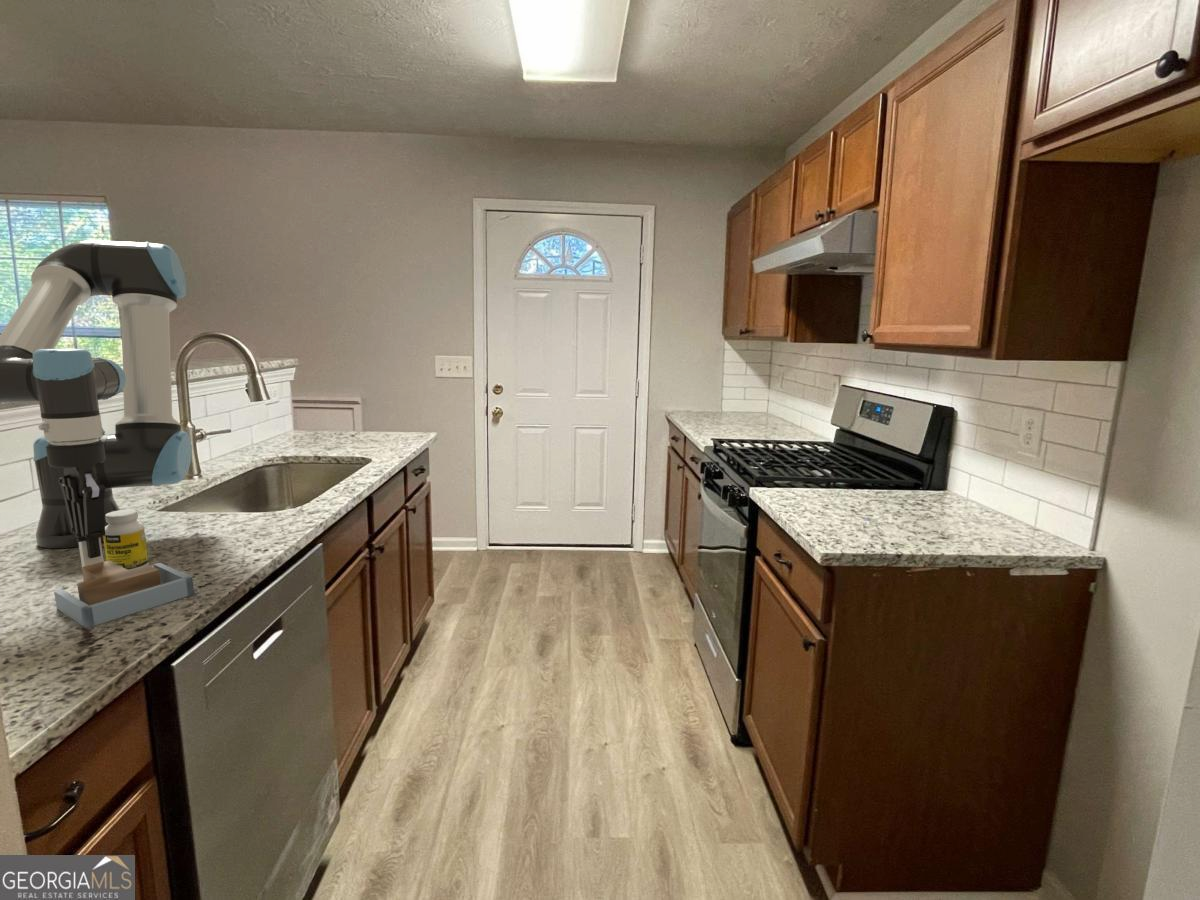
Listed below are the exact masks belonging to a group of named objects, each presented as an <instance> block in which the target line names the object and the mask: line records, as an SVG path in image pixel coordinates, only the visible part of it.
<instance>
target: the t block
mask: <svg viewBox="0 0 1200 900" xmlns="http://www.w3.org/2000/svg"><path fill="white" fill-rule="evenodd" d="M81 572H82V573H81V574H82V580H83V581H82V582H79V583H76V586H77V592H78V597H79V598H78V599H79V600H81V601H82V602H84V603H85V604H87V605H93V604H96V603H100V602H103V601H107V600H110V599H113V598H117V597H120V596H124V595H127V594H130V593H134V592H137V591H141V590H144V589H147V588H151V587H154V586H158V585H161V584H162V583H161V582H160V574H159V570H158V569H156V568H154V566H152V565H150V564H148V565H146V566H142V567H139V568H135V569H131V570H127V569H125V568H123V567H121V566H119V565H117V564H116V563H114V562H112V561H110V560H109V561H106V560H105V561H104V562H101V563H97V564H93V565H88V566H84V567H82V566H81Z"/></svg>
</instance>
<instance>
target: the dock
mask: <svg viewBox="0 0 1200 900" xmlns="http://www.w3.org/2000/svg"><path fill="white" fill-rule="evenodd" d="M153 567H154V568H156V569H158V570H159V574H160V582H161V585H158V586H154V587H151V588H147V589H144V590H141V591H137V592H134V593H130V594H127V595H124V596H120V597H117V598H113V599H110V600H107V601H103V602H100V603H96V604H93V605H87V604H85V603H84V602H82V601H81V600H80V599H79V598H77V597H76V596H74V595H72V594H71V593H69V592H67V591H66V590H64V589H63V588H62V589H61V588H60V589H58V590H54V591H53V594H54V599H55V605H56V609H57V610H59V611H60V612H61V613H63V614H64V615H66V616H67V617H69V618H71V619H72V620H74V621H75V622H76V623H78V624H80V625H81V626H82V627H84V628H85V629H88V628H91V627H94V626H97V625H101V624H104V623H107V622H111V621H113V620H117V619H119V618H123V617H126V616H129V615H132V614H135V613H138V612H139V613H140V612H141V611H145V610H147V609H151V608H154V607H159V606H161V605H164V604H168V603H170V602H172V601H173V602H174V601H177V600H180V599H183V598H186V597H189V596H193V595H195V586H194V578H193V577H192V576H190V575H189V574H186V573H184V572H181V571H180V570H177V569H175V568H172V567H171V566H168V565H165V564H163V563H162V562H157V563H154V564H153Z"/></svg>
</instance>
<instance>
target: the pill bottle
mask: <svg viewBox="0 0 1200 900" xmlns="http://www.w3.org/2000/svg"><path fill="white" fill-rule="evenodd" d="M105 517H106V522H107V523H108V525H107V526H106V527H105V536H103V540H104V542H103V545H104V546H103V547H104V554H105V561H109V560H110V561H112V562H114V563H116V564H117V565H119V566H121V567H123V568H125V569H127V570H131V569H135V568H139V567H142V566H146V565H149V556H148V549H147V540H146V532H145V525H144V523H142V522H141V521H139V520H138V519H139V518H138V517H139V515H138V511H137V510H136V509H120V510H118V511H113V512H110V513H107V514H106V515H105Z"/></svg>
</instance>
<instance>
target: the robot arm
mask: <svg viewBox="0 0 1200 900" xmlns="http://www.w3.org/2000/svg"><path fill="white" fill-rule="evenodd" d="M185 276H186V275H185V273H184V270H183V266H182V264H181V261H180V259H179V256H178V255H177V253H176V252H175V249H173V248H172V247H171V246H169V245H168V244H163V243H154V242H149V241H145V242H139V241H137V242H136V241H116V240H98V239H88V240H87V239H86V240H80V241H77V242H72V243H70V244H67V245H65V246H62V247H60V248H59V249H57V250H55V251H54V252H52V253H50V254H49V255H47V256H46V257H44V259H42V260H41V262H39V263H38V265H37V266H36V267H35V269H34V270H33V272H32V274H31V277H30V281H31V285H32V286H31V287H30V289H29V290H28V292H27V294H25V297H24V298H23V299H22V301H21V302H20V304H19V306H18V307H17V308H16V310H15V312H14V314H13V315H12V317H11V318H10V319H9V321H8V323H7V324H6V325H5V327H4V329H3V330H2V332H1V334H0V404H1V403H2V404H4V403H5V404H6V403H28V402H29V403H31V402H33V403H34V402H38V403H39V405H38V406H39V410H40V417H41V421H42V424H39V425H38V430H40V431H43V436H40V437H39V438H37V439H36V440H34V442H33V445H32V446H33V447H32V448H33V462H34V466H35V471H36V476H37V481H38V482H37V483H38V487H39V492H40V493H39V495H40V498H41V504H42V505H41V507H42V508H41V512H40V516H39V520H38V524H37V528H36V532H35V539H36V545H37V546H38V547H40V548H43V549H44V548H46V549H66V548H75V547H76V548H77V547H78V550H79V555H80V556H79V557H80V561H81V562H80V563H81V567H84V566H88V565H93V564H97V563H101V562H105V561H104V553H103V546H102V543H104V540H103V536H105V527H106V526H107V525H108V523H107V522H106V517H105V515H106V514H107V513H110V512H113V511H118V510H121V509H120V507H119V505H118V504H117V502H116V500H115V499H114V494H113V489H119V488H137V487H160V486H163V485H164V486H166V485H174V484H178V483H180V482H182V481H183V479H184V478H185V477H186V476H187V473H188V471H189V469H190V466H191V461H192V455H193V454H192V451H193V449H192V448H193V446H192V443H191V442H192V439H191V436H190V434H189V432H187V431H184V430H182V427H181V426H182V425H181V423H180V422H179V421H178V420H176V419H175V418H174V416H173V400H172V397H173V395H172V369H171V330H170V327H171V326H170V314H171V312H172V311H174V310H176V308H177V307H178V299H182V298H184V297H186V296H187V290H188V289H187V281H186V277H185ZM95 296H96V297H97V296H110V297H111V296H112V299H111V301H112V302H113V303H114V304H115V305H116V306H117V307H119V308H120V309H121V341H122V342H121V344H122V347H121V348H122V367H121V366H120V365H119V364H118V363H117V362H115V361H112V360H110V359H107V358H103V357H92V354H91V352H90V351H89V350H87V349H86V348H56V347H57V344H58V342H59V341H60V339H61V337H62V336H63V333H64V332H65V330H66V328H67V326H68V325H69V323H70V321H71V319H72V317H73V316H74V313H75V312H76V310H77V308H78V306H81V305H83V304H85V303H87V302H88V300H89V299H90V298H91V297H95ZM122 391H123V417H122V418H121V419H120V420H118V421H117V422H116V423H115V425H114V427H115V428H114V429H115V433H110V434H109V433H108V434H107V433H106V431H105V430H104V428H103V424H102V417H101V414H100V407H99V401H100V400H101V401H104V400H105V401H106V400H108V399H111V398H112V397H114V396H117V395H118V394H120V393H121V392H122Z"/></svg>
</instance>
